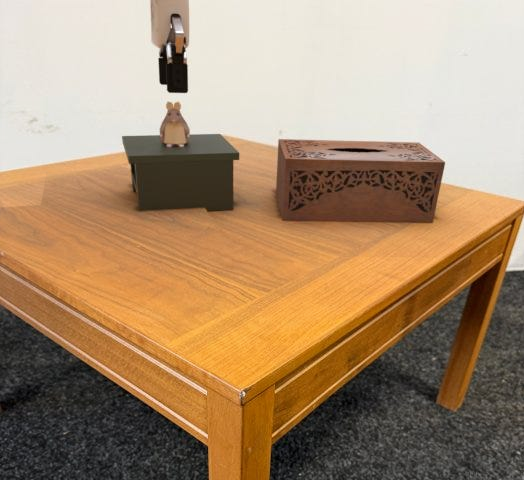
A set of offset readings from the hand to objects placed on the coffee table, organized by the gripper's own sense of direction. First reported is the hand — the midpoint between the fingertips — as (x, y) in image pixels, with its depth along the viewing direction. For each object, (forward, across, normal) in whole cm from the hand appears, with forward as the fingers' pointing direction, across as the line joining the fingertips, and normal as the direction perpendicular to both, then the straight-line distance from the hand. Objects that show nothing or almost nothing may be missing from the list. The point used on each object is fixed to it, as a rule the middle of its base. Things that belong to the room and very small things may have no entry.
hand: (173, 88), depth 89 cm
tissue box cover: (+18, +10, +30) cm, 36 cm away
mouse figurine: (+9, -2, 0) cm, 9 cm away
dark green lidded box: (+18, 0, +1) cm, 18 cm away
